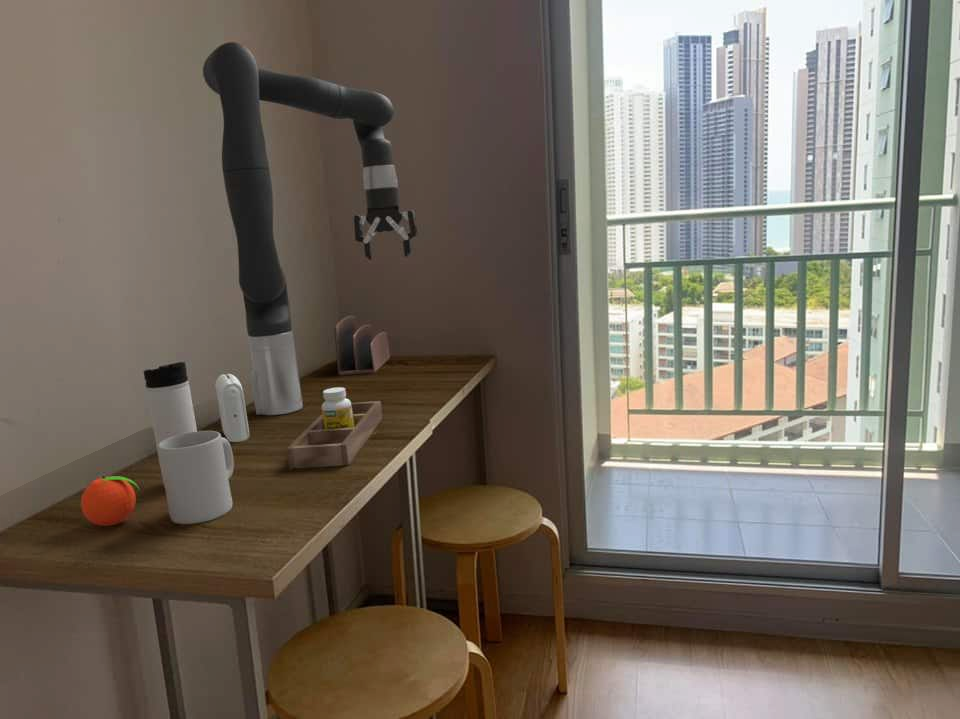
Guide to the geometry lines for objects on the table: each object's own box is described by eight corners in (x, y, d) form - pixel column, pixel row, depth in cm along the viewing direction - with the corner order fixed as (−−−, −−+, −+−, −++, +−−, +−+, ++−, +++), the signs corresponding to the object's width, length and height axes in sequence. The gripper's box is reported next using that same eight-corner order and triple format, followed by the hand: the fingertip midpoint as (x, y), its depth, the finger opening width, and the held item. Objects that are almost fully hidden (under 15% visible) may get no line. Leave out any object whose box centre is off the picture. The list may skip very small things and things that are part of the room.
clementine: (153, 510, 109) (145, 464, 107) (138, 529, 102) (128, 480, 100) (97, 517, 108) (87, 471, 106) (77, 537, 101) (67, 488, 100)
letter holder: (338, 376, 194) (331, 323, 191) (356, 360, 214) (351, 312, 211) (375, 373, 193) (369, 320, 190) (390, 358, 213) (385, 310, 210)
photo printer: (252, 439, 141) (242, 376, 139) (229, 444, 139) (218, 380, 137) (243, 427, 150) (233, 368, 148) (221, 432, 148) (211, 372, 146)
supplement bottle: (357, 434, 138) (350, 385, 136) (354, 443, 133) (347, 391, 131) (328, 437, 138) (321, 387, 136) (324, 446, 132) (317, 395, 130)
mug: (206, 526, 101) (193, 450, 99) (157, 522, 104) (143, 448, 101) (259, 493, 112) (248, 423, 110) (213, 490, 115) (202, 422, 112)
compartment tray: (289, 468, 122) (286, 448, 121) (333, 421, 149) (331, 404, 148) (348, 465, 121) (346, 444, 120) (382, 417, 148) (380, 400, 148)
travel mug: (181, 493, 115) (159, 367, 111) (155, 487, 118) (133, 366, 114) (214, 479, 120) (194, 359, 116) (189, 474, 123) (168, 357, 120)
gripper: (346, 189, 166) (355, 261, 169) (409, 183, 164) (416, 256, 168) (354, 190, 173) (362, 259, 176) (414, 184, 172) (421, 254, 175)
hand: (388, 258), depth 172 cm, fingers open, 8 cm apart
